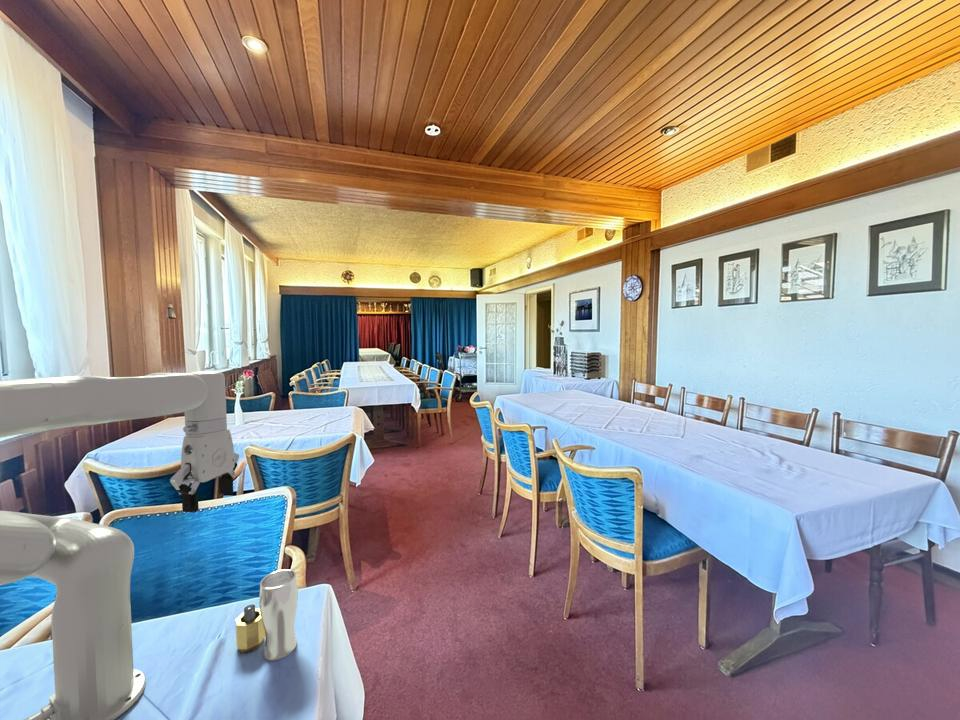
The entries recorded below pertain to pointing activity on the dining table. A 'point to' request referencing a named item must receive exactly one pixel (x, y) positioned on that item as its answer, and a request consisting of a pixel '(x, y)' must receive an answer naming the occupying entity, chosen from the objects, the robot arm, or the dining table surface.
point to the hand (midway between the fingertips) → (209, 502)
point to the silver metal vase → (279, 613)
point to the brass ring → (249, 631)
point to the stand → (248, 617)
